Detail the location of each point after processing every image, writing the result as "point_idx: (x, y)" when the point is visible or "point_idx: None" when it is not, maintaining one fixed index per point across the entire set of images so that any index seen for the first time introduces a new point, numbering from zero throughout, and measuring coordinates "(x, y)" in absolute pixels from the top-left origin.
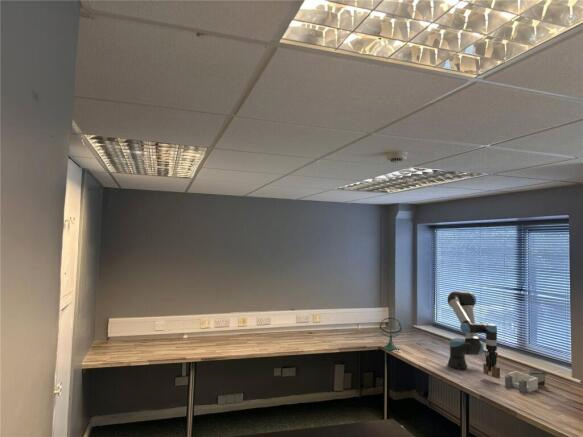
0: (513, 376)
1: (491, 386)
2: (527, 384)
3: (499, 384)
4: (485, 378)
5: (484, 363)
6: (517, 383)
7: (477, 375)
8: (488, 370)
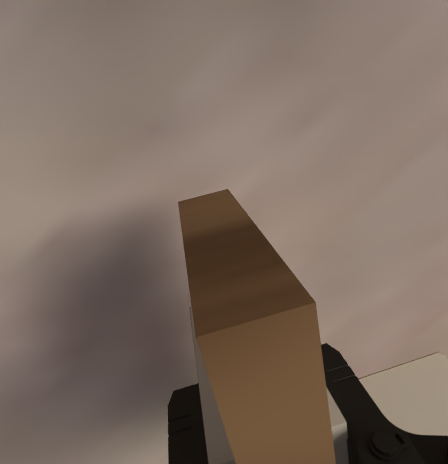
0: None
1: (54, 438)
2: None
3: None
4: None
5: (235, 356)
6: None
7: (167, 41)
8: (170, 410)
